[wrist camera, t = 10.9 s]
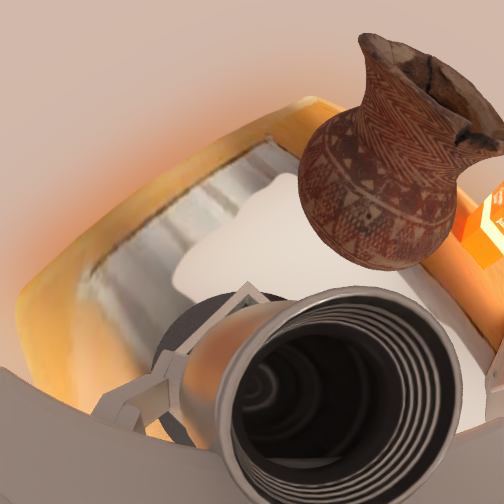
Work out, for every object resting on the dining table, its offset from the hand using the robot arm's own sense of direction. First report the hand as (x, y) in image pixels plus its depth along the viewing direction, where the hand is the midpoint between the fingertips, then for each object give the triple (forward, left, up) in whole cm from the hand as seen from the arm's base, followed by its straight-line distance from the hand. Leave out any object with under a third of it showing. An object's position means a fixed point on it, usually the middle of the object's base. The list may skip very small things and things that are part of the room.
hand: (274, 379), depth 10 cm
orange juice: (-44, +19, -19) cm, 51 cm away
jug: (-27, -3, -19) cm, 33 cm away
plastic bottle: (+1, 0, -12) cm, 12 cm away
